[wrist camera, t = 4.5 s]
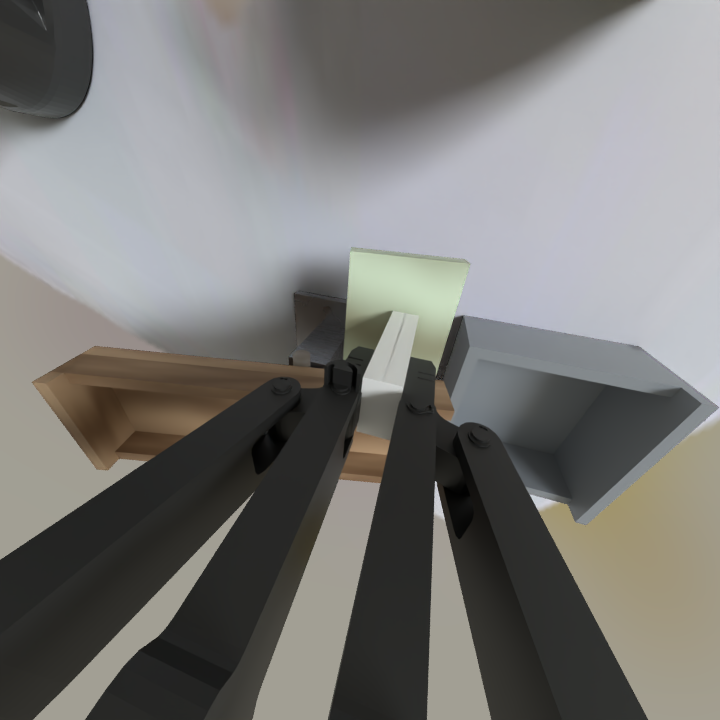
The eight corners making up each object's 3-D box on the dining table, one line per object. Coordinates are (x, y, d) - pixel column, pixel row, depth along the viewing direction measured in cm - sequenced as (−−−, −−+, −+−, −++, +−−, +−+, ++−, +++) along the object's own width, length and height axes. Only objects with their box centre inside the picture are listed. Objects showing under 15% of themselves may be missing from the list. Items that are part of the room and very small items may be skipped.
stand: (298, 290, 25) (254, 320, 19) (381, 306, 24) (362, 342, 18) (301, 389, 31) (270, 433, 26) (367, 405, 30) (349, 455, 24)
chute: (48, 211, 15) (-89, 221, 10) (476, 256, 15) (517, 284, 11) (150, 421, 24) (100, 474, 19) (415, 447, 24) (425, 504, 20)
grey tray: (463, 315, 22) (472, 357, 16) (639, 346, 20) (719, 407, 14) (427, 423, 29) (425, 479, 24) (555, 455, 27) (585, 525, 21)
